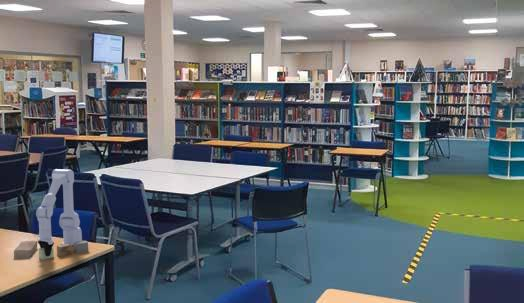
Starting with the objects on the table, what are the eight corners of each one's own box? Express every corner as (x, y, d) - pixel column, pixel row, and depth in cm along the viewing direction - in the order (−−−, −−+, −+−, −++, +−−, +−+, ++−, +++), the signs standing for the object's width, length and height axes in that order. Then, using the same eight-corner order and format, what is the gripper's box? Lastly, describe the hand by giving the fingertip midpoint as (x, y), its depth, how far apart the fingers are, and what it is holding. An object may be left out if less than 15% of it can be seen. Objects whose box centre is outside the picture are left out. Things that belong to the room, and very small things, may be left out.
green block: (50, 255, 271) (50, 246, 271) (53, 257, 268) (53, 247, 268) (39, 257, 267) (38, 248, 266) (42, 259, 264) (41, 250, 264)
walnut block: (68, 252, 277) (67, 243, 276) (71, 254, 274) (71, 245, 273) (57, 254, 272) (56, 245, 272) (60, 256, 270) (59, 247, 269)
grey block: (85, 249, 282) (84, 240, 281) (88, 251, 279) (88, 242, 278) (74, 251, 278) (74, 242, 277) (77, 253, 275) (77, 244, 274)
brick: (30, 257, 268) (30, 249, 267) (13, 258, 266) (12, 249, 266) (37, 248, 284) (37, 240, 284) (21, 249, 282) (21, 240, 282)
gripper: (32, 228, 268) (33, 253, 270) (42, 233, 258) (43, 259, 260) (45, 225, 273) (47, 250, 275) (56, 231, 263) (57, 256, 264)
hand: (46, 254), depth 267 cm, fingers closed on green block, 4 cm apart
